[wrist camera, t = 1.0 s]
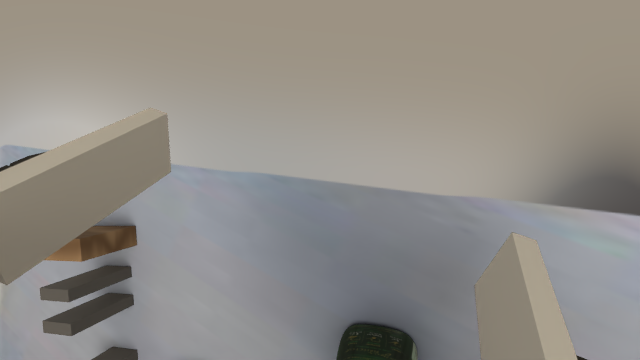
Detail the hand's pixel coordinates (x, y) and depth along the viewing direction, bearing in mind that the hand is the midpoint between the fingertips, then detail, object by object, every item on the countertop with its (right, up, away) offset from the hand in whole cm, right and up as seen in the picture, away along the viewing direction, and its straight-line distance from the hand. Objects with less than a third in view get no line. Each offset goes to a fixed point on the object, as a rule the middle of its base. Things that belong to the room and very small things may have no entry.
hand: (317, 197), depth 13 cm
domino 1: (-32, -14, +41) cm, 54 cm away
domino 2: (-32, -19, +41) cm, 55 cm away
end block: (-33, -8, +41) cm, 53 cm away
